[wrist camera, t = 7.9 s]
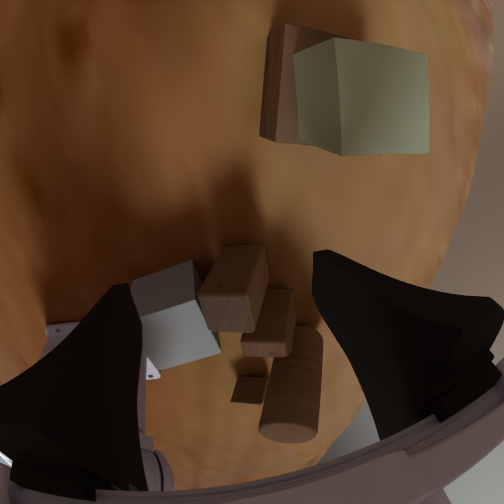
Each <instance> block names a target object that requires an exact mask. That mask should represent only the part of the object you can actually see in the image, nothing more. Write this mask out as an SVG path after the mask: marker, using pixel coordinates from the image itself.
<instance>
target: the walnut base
mask: <svg viewBox="0 0 504 504" xmlns="http://www.w3.org/2000/svg"><path fill="white" fill-rule="evenodd" d="M332 38H343V39H348V38H345V37H341V36H338V35H334V34H330V33H326V32H322V31H318V30H314V29H309V28H305V27H300V26H295V25H290V24H284V25H283V26H281V27H280V28H279V29H278V30H276V31H275V32H274V33H272V34H271V35H270V36H269V37H267V48H266V60H265V72H264V84H263V97H262V109H261V121H260V133H259V136H261V137H263V138H266V139H268V140H271V141H273V142H279V143H291V144H302V145H310V144H308V143H305V142H302V141H300V136H299V121H298V107H297V95H296V83H295V72H294V62H293V55H294V54H296V53H298V52H300V51H302V50H305V49H307V48H309V47H312V46H314V45H317V44H319V43H321V42H324V41H326V40H329V39H332ZM312 146H313V145H312ZM377 155H380V154H377Z"/></svg>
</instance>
